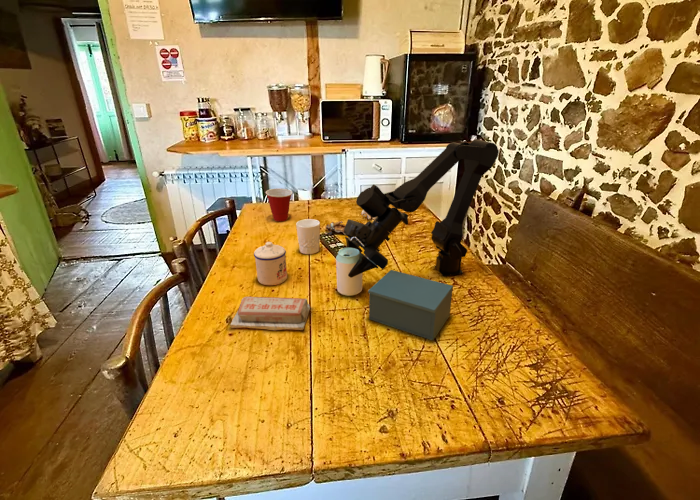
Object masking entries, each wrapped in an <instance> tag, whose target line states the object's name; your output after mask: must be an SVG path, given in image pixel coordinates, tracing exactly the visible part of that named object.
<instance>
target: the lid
mask: <svg viewBox="0 0 700 500" xmlns="http://www.w3.org/2000/svg"><path fill="white" fill-rule="evenodd" d="M452 289H453V290H454V285H451V284H448V283H445V282H444V283H443V282H439V281H437V280H432V279H428V278H424V277H420V276H417V275H413V274H409V273H405V272H401V271H398V270H393V269H390V270H389V271H388V272H386V273H385V275H384V276H382V277H381V278H380V279H378V281H377V282H376V283H375V284H373V286H371V287H370V288H369V289H368V290H367V293H368V295H369V294H373V295H376V296H379V297H383V298H386V299H389V300H393V301H396V302H399V303H403V304H406V305H409V306H413V307H416V308H419V309H423V310H426V311H429V312H433V313H435V312H436V310H437V309H438V308H439V306H440V305H441V304H442V302H443V301H444V300H445V298H446V297H447V296H448V294H449V293H450V291H451V290H452Z"/></svg>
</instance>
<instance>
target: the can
mask: <svg viewBox="0 0 700 500" xmlns="http://www.w3.org/2000/svg"><path fill="white" fill-rule="evenodd" d="M359 252H360V251H359V250H358V249H355V248H346V247H343V248H341V249H339V250H338V252H337V255H336V257H335V266H336V267H335V268H336V269H335V271H336V291H337V292H338V293H339V294H341V295H343V296H346V297H351V296H352V297H353V296H356V295H358V294H360V293H361V292H362V291H363V273H361V274H358V275H356V276H354V277H352V278H350V277H349V276H348V274H349V273H350V271H351V270H352V268H353V267H354V266H355V264H356V263H357V261H358V260H359Z"/></svg>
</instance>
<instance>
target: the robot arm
mask: <svg viewBox="0 0 700 500" xmlns="http://www.w3.org/2000/svg"><path fill="white" fill-rule="evenodd" d="M499 152H500V150H499V148H498V145H497V144H496V143H494V142H490V141H486V140H482V139H474V140H472V141H470V142H466V141H465V142H463V141H461V142H454V141H453V142H450V143H448V144H447V145H446V146H445V148H444V150H442V151H441V153H439V154H438V156H436V157H435V158H434V159H433V160H432V161H431V162H430V163H429V164H428V165H427V166H426V167H425V168H424V169H423V170H422V171H421V172H420V173H419V174H418V175H417V176H415V177H414V178H412V179H409V180H407V181H405V182H403V183H402V184H401V185H399V186H398V187H396V188H395V189H394V190H393V191H389V192H385V193H384V192H383V191H382V190H381V188H380V187H379V186H377V185H376V184H372V185H371V187H367V188H365V189H364V190H362V191H361V192H359V194H358V196H357V198H356V200H355V204H356V205H357V206H358V207H359V208H360V209H361V210H362V211H363V210H364V211H365V212H366V213H367V214H368V215H370V216H371V218H372V217H373V218H374V217H376V219H375V220H374V219H373V221H372V222H371V221H370V220H369V221H366V223H362V222H359V221H356V220H353V219H347V221H346V223H345V225H346V226H345V228H344V231H345V232H344V233H345V234H344V235H345V237H344V239H345V245H346V246H345V248H355V249H358V250H359V251H360V252H359V260H358V261H357V263H356V264H355V266H354V267H353V268H352V270H351V271H350V273H349V274H348V276H349V277H350V278H352V277H354V276H356V275H358V274H361V273H362V274H364V273H366V272H368V271H371V270H373V269H379V268H380V269H381V270H385V268H386V267H387V266H388V265H389V260H388V258H387V257H386V256H384V254H382V253H381V252H380V251H381V250H380V247H381V246H382V245H383V243H384V242H385V241H387V242H389V241H390V240H391V238H390V237H389V236H390V235H391V234H393V232H394V230H395V229H396V228H397V227H398V226H399V225H400V224H401V223H403V224H404V225H406V226H408V225H409V215H408V214H407V213H414V212H416V211H417V210H418V209H419V208H420V207H421V205H422V204H423V203H424V202H425V200H426V197H427V195H428V192H429V191H430V190H431V189H432V188H433V187H434V186H435V185H436V184H437V183H438V182H439V181H440V180H441V179H442V178H444V176H445V175H446V174H447V173H449V171H450V170H451V169H452V168H453V167H455V165H457V164H458V163H459V162H460V161H461V160H463V163H464V171H463V174H462V177H461V179H460V181H459V184H458V186H457V188H456V192H455V194H454V196H453V199H452V201H451V203H450V206H449V209H448V211H447V213H446V216H445V217H444V219H442V220H441V221H438V220H437V221H435V223H434V227H433V229H432V231H431V232H430V234H431V241H432V243H433V244H434V245H435V249H437V250H438V254H437V256H436V258H435V259H436V260H435V265H434V269H436V270H437V271H438V273H439V274H440V275H441V276H442V277H450V276H458V275H463V273H464V272H463V270H461V267H462V261H463V260H462V259H463V258H465V257H466V256H467V253H468V251H469V250H468V249H467V248H466V247H465V246H464V245H463V243H462V241H463V236H464V233H463V223H464V220H465V218H466V216H467V213H468V211H469V208H470V206H471V204H472V201H473V199H474V196H475V193H476V192H477V189H478V187H479V184H480V182H481V179H482V178H483V176H484V175H485V174H486V173H487V172H488V171H490V170H491V169H492V168H493V166H494V165H495V162H496V161H497V159H498V158H499V154H500V153H499ZM391 206H392V207H391ZM400 210H402V211H403V212H401V211H400ZM361 248H362V249H361ZM362 252H363V253H362Z"/></svg>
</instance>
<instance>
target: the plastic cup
mask: <svg viewBox="0 0 700 500" xmlns="http://www.w3.org/2000/svg"><path fill="white" fill-rule="evenodd" d="M265 195H266V197H267V201H268V203H269V207H270V211H271V214H272V218H273V220H274V221H275V222H286V221H288V220H289V212H290V203H291V197H292V195H293V191H292V190H291V189H287V188H270V189H267V190H266V191H265Z"/></svg>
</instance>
